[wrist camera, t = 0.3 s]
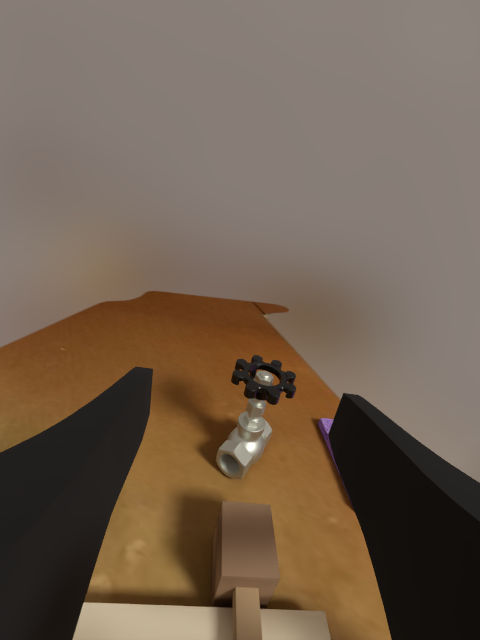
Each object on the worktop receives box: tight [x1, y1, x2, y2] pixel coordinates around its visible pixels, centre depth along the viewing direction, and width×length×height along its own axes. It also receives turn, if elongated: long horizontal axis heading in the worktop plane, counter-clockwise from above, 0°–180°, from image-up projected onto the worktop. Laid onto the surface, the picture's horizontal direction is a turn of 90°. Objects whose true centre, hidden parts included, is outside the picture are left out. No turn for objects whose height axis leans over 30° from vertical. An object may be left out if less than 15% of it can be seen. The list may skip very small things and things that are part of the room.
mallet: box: [211, 501, 280, 640], centre depth 20 cm, size 13×4×5 cm, turn 2°
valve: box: [216, 355, 296, 479], centre depth 32 cm, size 7×7×12 cm
